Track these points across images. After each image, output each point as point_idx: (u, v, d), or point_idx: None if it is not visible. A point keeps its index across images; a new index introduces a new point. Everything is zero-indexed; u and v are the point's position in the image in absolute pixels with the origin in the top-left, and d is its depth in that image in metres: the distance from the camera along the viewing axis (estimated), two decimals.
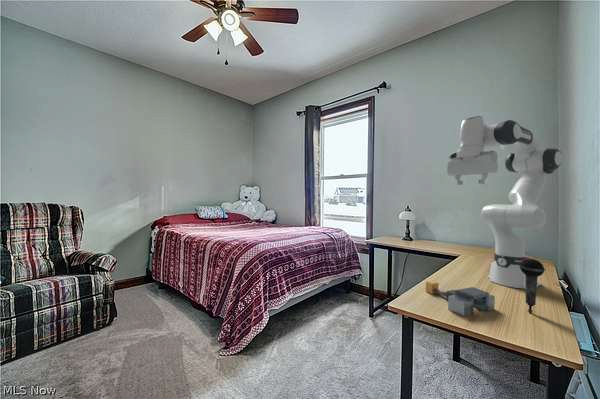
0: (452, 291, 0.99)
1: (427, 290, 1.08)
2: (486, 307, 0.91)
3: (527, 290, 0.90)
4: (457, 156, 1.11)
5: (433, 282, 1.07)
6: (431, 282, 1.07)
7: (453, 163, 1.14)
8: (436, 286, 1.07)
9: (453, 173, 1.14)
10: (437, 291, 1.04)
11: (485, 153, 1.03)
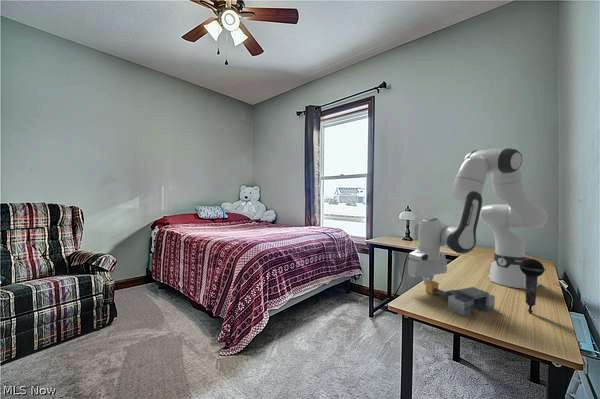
0: (452, 291, 0.99)
1: (427, 290, 1.08)
2: (486, 307, 0.91)
3: (527, 290, 0.90)
4: (429, 259, 1.05)
5: (433, 282, 1.07)
6: (431, 282, 1.07)
7: (420, 264, 1.06)
8: (436, 286, 1.07)
9: (420, 275, 1.06)
10: (437, 291, 1.04)
11: None
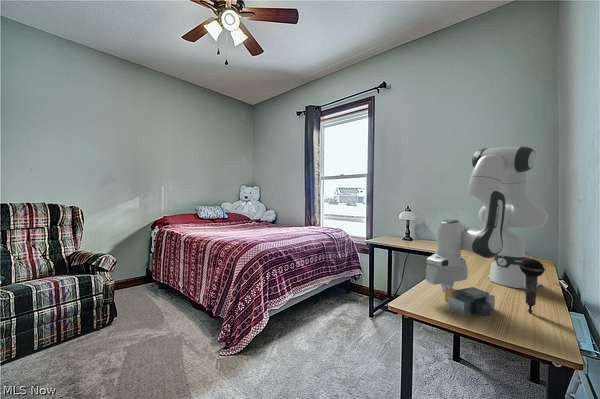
0: (476, 301, 0.90)
1: (447, 299, 0.99)
2: None
3: (527, 290, 0.90)
4: (449, 264, 0.96)
5: (453, 290, 0.99)
6: (451, 290, 0.99)
7: (439, 270, 0.97)
8: None
9: (439, 282, 0.97)
10: None
11: None
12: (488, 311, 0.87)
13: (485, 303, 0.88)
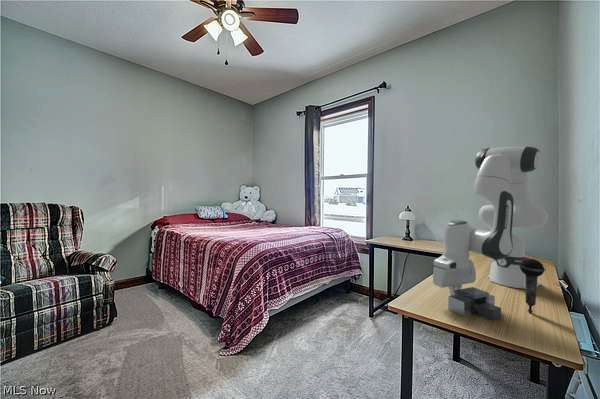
0: (486, 304, 0.87)
1: None
2: None
3: (527, 290, 0.90)
4: (457, 267, 0.93)
5: None
6: None
7: (447, 273, 0.94)
8: None
9: (447, 285, 0.94)
10: None
11: None
12: (499, 315, 0.84)
13: (495, 307, 0.85)
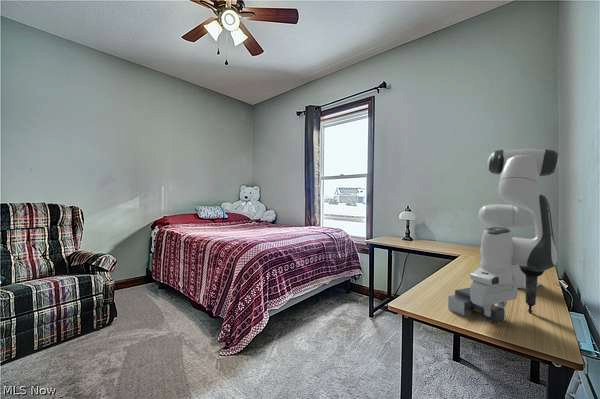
0: None
1: None
2: None
3: (527, 290, 0.90)
4: (500, 282, 0.80)
5: None
6: None
7: (488, 289, 0.80)
8: None
9: (487, 303, 0.81)
10: None
11: None
12: (502, 317, 0.83)
13: (499, 308, 0.84)
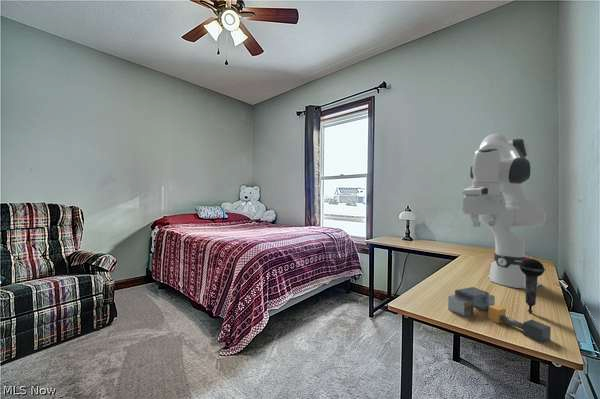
0: (531, 322, 0.75)
1: (491, 318, 0.84)
2: (486, 307, 0.91)
3: (527, 290, 0.90)
4: (489, 193, 0.90)
5: (498, 307, 0.84)
6: (496, 307, 0.84)
7: (478, 200, 0.90)
8: (503, 313, 0.83)
9: (478, 212, 0.90)
10: (506, 320, 0.81)
11: None
12: (548, 335, 0.73)
13: (544, 325, 0.73)
